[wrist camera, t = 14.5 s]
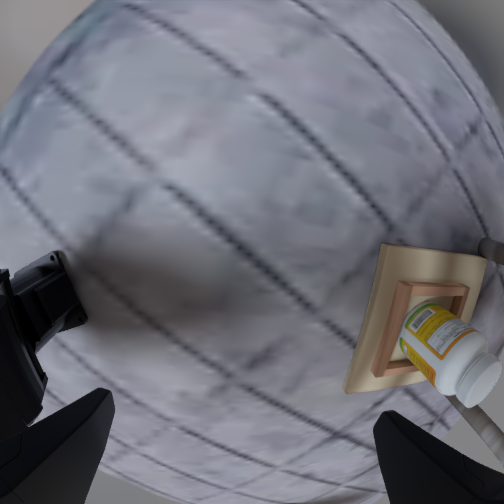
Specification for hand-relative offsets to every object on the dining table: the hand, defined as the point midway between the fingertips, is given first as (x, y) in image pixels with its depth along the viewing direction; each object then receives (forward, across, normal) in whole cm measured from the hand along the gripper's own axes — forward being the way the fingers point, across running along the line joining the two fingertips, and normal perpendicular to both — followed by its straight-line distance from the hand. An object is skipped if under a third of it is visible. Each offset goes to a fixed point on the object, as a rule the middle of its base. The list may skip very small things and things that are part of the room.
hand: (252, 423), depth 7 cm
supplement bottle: (+13, -16, +2) cm, 21 cm away
